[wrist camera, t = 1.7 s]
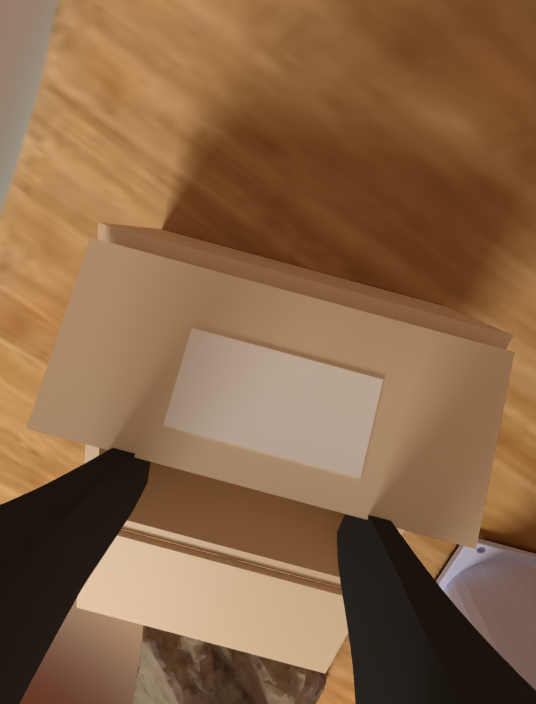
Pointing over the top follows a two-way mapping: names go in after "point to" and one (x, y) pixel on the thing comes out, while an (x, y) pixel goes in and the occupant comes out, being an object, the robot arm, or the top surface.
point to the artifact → (217, 674)
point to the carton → (243, 505)
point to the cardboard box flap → (276, 392)
